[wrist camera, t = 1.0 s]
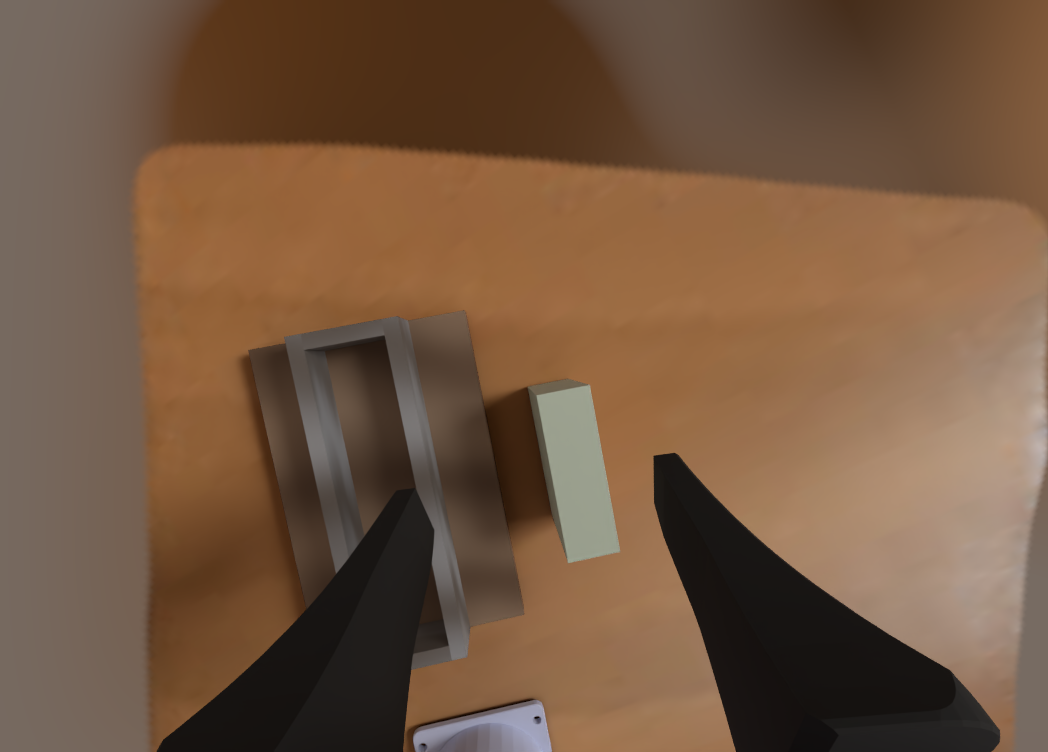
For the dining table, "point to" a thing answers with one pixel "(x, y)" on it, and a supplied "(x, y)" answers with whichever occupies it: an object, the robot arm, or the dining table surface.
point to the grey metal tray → (391, 462)
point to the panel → (574, 468)
